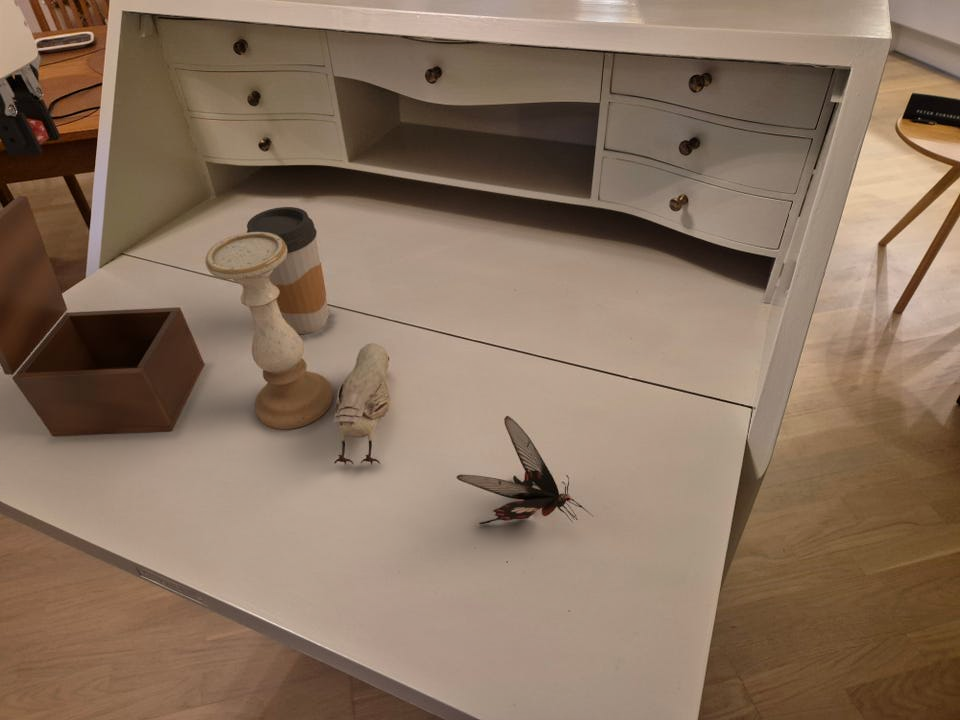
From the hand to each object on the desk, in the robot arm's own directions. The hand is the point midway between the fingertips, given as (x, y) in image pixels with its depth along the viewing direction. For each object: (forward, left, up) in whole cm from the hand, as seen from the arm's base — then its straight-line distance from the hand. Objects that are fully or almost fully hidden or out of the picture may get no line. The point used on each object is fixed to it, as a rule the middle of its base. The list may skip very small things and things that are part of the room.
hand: (35, 145), depth 65 cm
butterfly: (+48, -29, -27) cm, 63 cm away
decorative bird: (+32, -14, -27) cm, 45 cm away
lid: (-2, -9, -11) cm, 15 cm away
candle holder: (+23, -11, -27) cm, 38 cm away
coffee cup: (+21, +5, -27) cm, 35 cm away
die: (0, 0, 0) cm, 0 cm away
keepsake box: (+3, -9, -27) cm, 29 cm away
